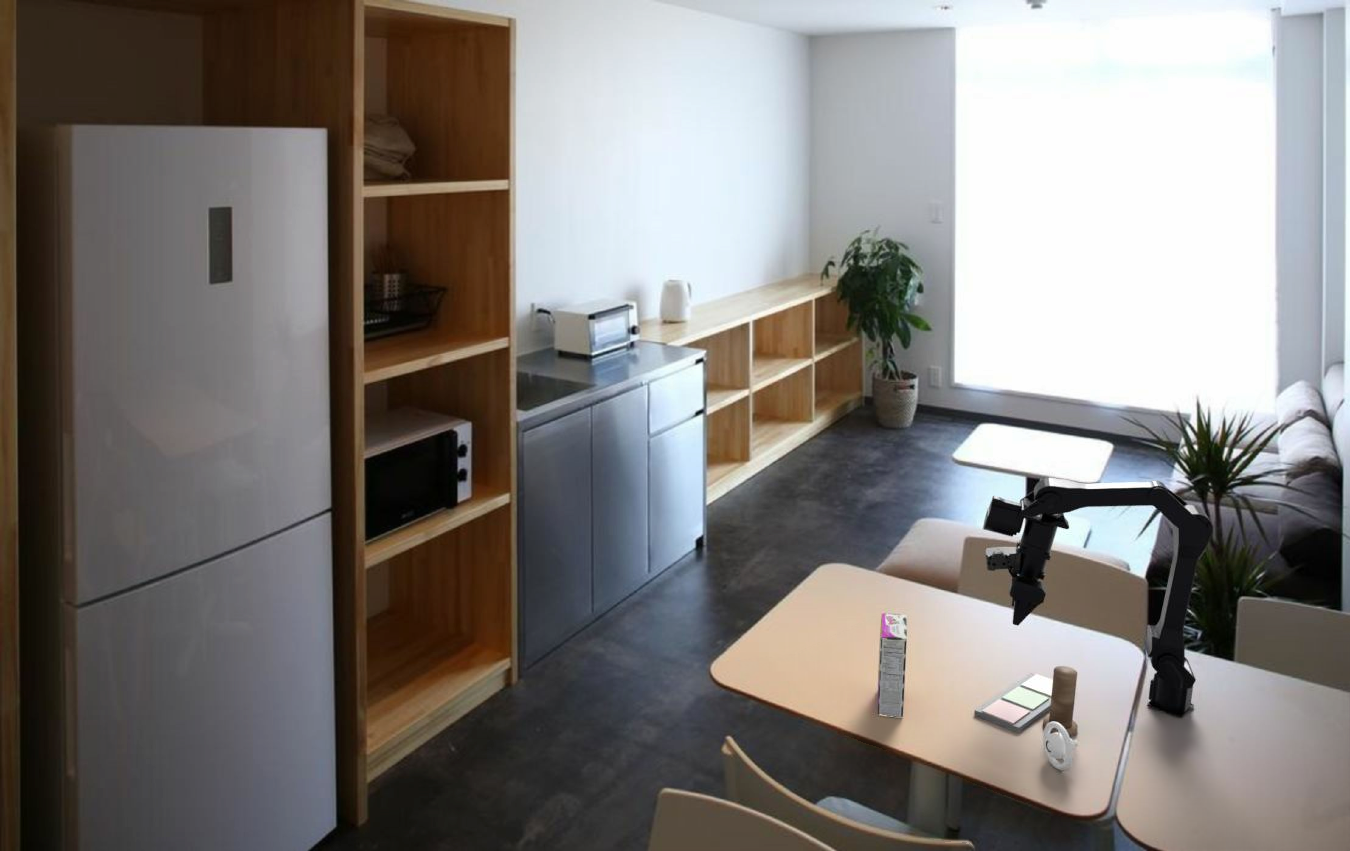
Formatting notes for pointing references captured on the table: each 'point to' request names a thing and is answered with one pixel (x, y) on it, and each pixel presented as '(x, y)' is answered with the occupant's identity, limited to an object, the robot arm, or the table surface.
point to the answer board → (1019, 703)
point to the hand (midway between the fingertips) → (1014, 615)
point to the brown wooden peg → (1063, 700)
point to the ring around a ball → (1058, 745)
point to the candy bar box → (892, 664)
